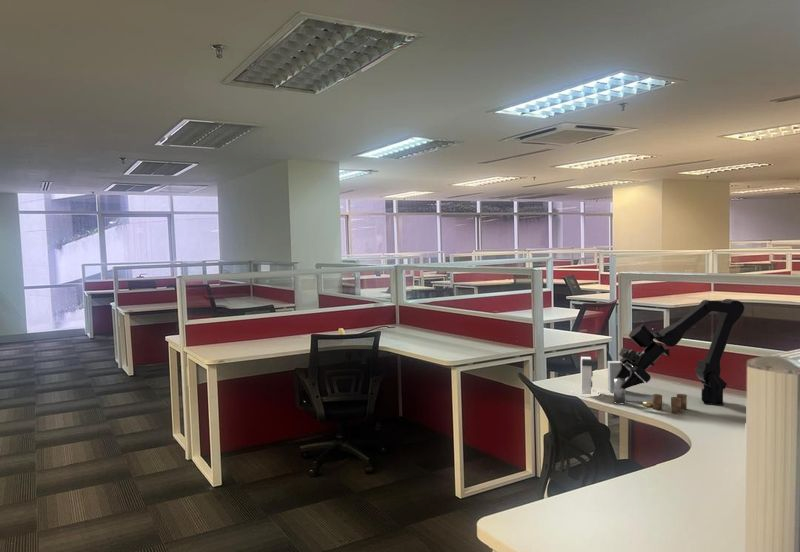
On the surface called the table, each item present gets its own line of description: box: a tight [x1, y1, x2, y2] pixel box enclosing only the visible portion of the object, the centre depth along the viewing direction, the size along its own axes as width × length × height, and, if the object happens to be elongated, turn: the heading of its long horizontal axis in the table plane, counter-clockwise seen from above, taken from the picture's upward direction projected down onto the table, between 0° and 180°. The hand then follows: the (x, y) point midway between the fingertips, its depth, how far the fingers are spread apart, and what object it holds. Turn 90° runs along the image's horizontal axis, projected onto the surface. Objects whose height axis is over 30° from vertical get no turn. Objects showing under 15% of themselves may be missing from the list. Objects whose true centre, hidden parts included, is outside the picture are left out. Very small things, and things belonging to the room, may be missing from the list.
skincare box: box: [607, 360, 621, 393], centre depth 233 cm, size 6×4×12 cm
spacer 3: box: [676, 393, 688, 411], centre depth 207 cm, size 3×3×5 cm
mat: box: [625, 392, 653, 404], centre depth 221 cm, size 12×12×1 cm
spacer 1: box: [652, 393, 663, 411], centre depth 208 cm, size 3×3×5 cm
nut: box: [642, 401, 653, 408], centre depth 212 cm, size 4×4×2 cm
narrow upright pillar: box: [570, 353, 601, 394], centre depth 230 cm, size 12×11×15 cm
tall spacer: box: [613, 378, 626, 404], centre depth 216 cm, size 4×4×9 cm
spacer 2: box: [670, 396, 682, 414], centre depth 203 cm, size 3×3×5 cm
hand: (618, 385), depth 216 cm, fingers open, 9 cm apart
